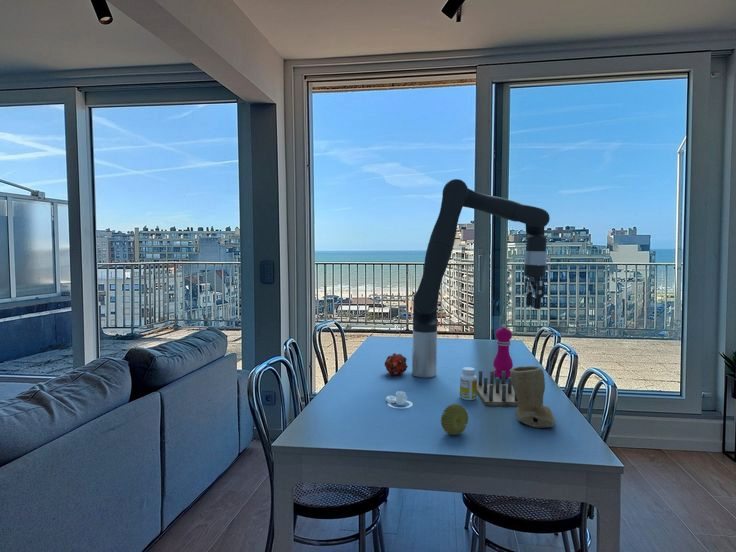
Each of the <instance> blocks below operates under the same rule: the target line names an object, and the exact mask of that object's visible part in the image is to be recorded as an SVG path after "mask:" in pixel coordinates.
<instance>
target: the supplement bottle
mask: <svg viewBox="0 0 736 552" xmlns="http://www.w3.org/2000/svg"><path fill="white" fill-rule="evenodd" d="M475 373H476V369H475V368H474V367H470V366H467V367H466V366H465V367H462V374H461V375H460V377H459V379H460V380H459V383H460V384H459V397H460V399H463V400H465V401H474V400H476V399H477V397H478V396H477V395H478V393H477V384H478V377H477V375H476V374H475Z"/></svg>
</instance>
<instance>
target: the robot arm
mask: <svg viewBox="0 0 736 552" xmlns="http://www.w3.org/2000/svg"><path fill="white" fill-rule="evenodd" d="M441 195H442V196H441V197H442V198H441V205H440V210H439V214H438V217H437V218H436V221H435V224H434V226H433V229H432V231H431V235H430V237H429V240H428V244H427V248H426V252H425V257H424V264H423V271H422V272H423V273H422V277H421V280H420V283H419V285H418V288H417V291H416V292H415V294H414V295H413V301H412V305H413V306H412V307H413V308H412V349H411V373H412V377H418V378H426V379H427V378H434V377H436V376H437V369H438V368H437V363H438V362H437V359H438V358H437V357H438V356H437V355H438V351H437V350H438V305H439V304H438V303H439V296H440V290H441V286H442V281H443V278H444V275H445V273H446V270H447V268H448V265H449V262H450V259H451V256H452V251H453V249H454V245H455V241H456V235H457V230H458V223H459V219H460V215H461V213H462V210H463V208H469V209H473V210H477V211H481V212H483V213H487V214H490V215H493V216H495V217H498V218H501V219H505V220H507V221H510V222H515V223H516V222H517V223H521V224H524V225H525V233H526V234H525V237H526V241H525V242H526V243H525V254H524V266H523V267H524V269H523V276H524V277H525V278H524V286H523V287H524V289H523V293H524V294H525V298H526V300H525V302H526V303H525V305H526V306H529V307H531V306H533V309H535V310H541V305H542V304H541V303H542V298H545V280H542V279H541V278H544V277H546V274H547V273H546V271H547V238H546V236H545V227H547V225H549V222H550V221H551V220H550V219H551V218H550V214H549V213H548V211H547V210H545V209H543V208H542V207H541V208H540V207H536V206H532V205H527V204H522V203H520V202H517V201H515V200H511V199H508V198H505V197H500V196H494V195H488V194H485V193H482V192H481V193H480V192H477V191H475V190H473V189H470V188H468V185H467V183H466V182H465V181H464V180H462V179H460V178H456V179H455V178H454V179H450V180H449V181H447V182H446V183H445V184H444V187H443V189H442V193H441Z"/></svg>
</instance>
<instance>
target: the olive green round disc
mask: <svg viewBox="0 0 736 552" xmlns="http://www.w3.org/2000/svg"><path fill="white" fill-rule="evenodd" d="M467 411H468V410H467V409H466V408H465V407H464V406H463V405H461V404H459V403H453V404H450V405H448V406H446V408H445V409H444V410H443V412H442V414H441V417H440V423H441V426H442V429H443V430H444V432H446V433H447V434H448V435H453V436H455V435H460V434H462V432H463V431H465V430H466V428H467V425H468V423H469V413H468V412H467Z"/></svg>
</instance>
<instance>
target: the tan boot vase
mask: <svg viewBox="0 0 736 552" xmlns="http://www.w3.org/2000/svg"><path fill="white" fill-rule="evenodd" d="M510 377H511V383H512V386H513V389H514V392H515V394H516V397H517V400H518V406H516V408H515V411H516V412H515V413H516V416H517V420H518V421H519V422H521V423H522V424H525V425H526V426H529V427H532V428H537V429H539V428H542V429H543V428H549V427H554V426H556V424H555V419H554V414H553V412H552V410H551V408H549V407H548V406H544V394H545V389H546V381H545V374H544V370H543V369H542V368H541V367H539V366H537V365H535V366H534V365H528V366H524V365H523V366H515V367H512V369H511V370H510Z"/></svg>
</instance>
